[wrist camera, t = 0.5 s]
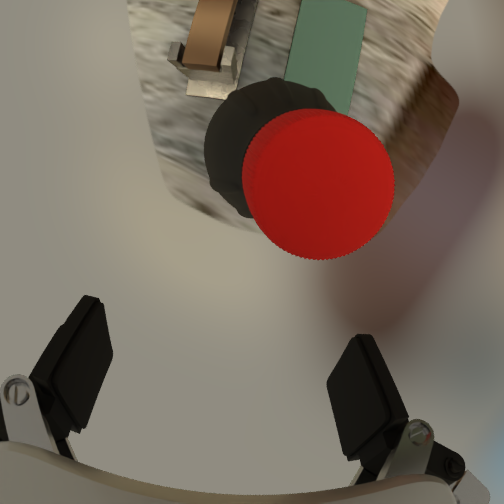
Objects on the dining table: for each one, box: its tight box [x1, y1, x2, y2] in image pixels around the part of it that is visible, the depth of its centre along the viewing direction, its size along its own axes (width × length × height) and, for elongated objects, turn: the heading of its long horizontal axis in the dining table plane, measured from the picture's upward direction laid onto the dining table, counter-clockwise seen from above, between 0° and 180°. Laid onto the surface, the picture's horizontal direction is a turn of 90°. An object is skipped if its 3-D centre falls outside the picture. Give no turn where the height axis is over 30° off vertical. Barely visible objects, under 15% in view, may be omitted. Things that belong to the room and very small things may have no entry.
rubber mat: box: [284, 0, 367, 116], centre depth 27 cm, size 19×9×1 cm, turn 169°
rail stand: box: [167, 0, 258, 100], centre depth 20 cm, size 20×6×12 cm, turn 169°
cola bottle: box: [204, 77, 395, 260], centre depth 19 cm, size 8×8×30 cm
